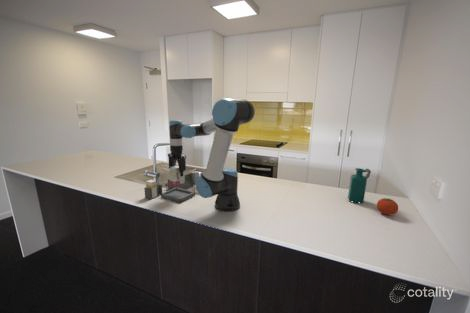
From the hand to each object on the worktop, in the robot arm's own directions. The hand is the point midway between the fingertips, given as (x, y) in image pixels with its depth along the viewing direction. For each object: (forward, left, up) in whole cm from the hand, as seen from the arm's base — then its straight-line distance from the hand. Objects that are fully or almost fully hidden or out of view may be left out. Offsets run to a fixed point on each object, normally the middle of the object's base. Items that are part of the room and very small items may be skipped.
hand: (177, 179), depth 142 cm
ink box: (0, 0, -3) cm, 3 cm away
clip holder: (+14, +3, -12) cm, 18 cm away
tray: (0, 0, -12) cm, 12 cm away
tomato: (-119, -43, -12) cm, 127 cm away
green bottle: (-104, -55, -12) cm, 118 cm away
